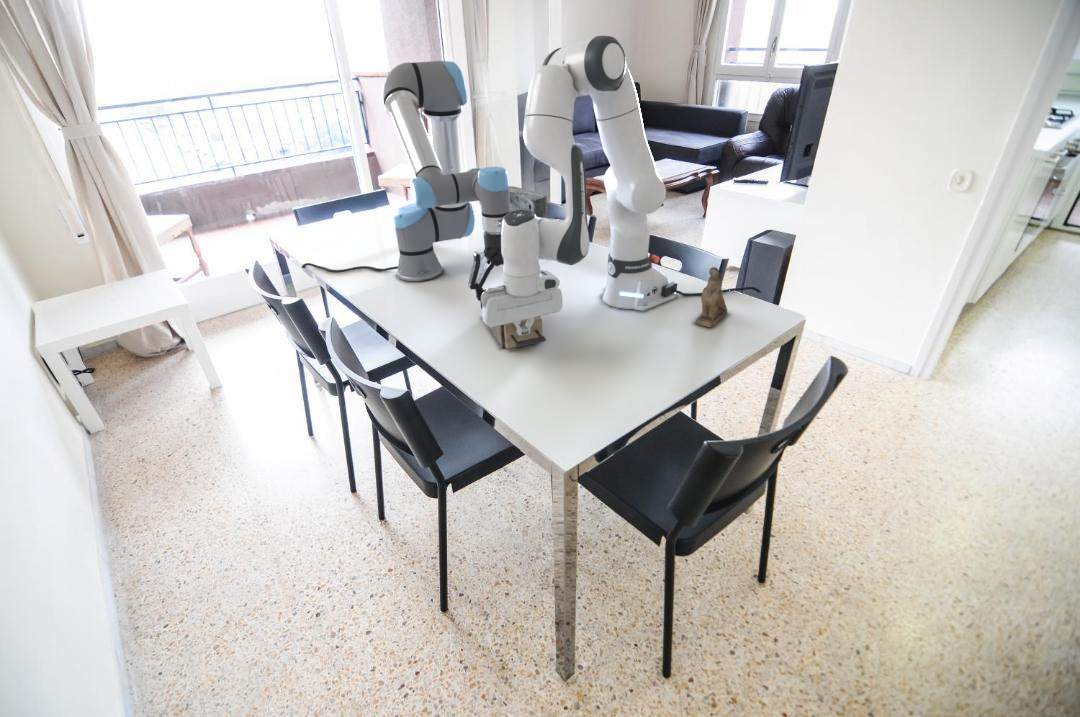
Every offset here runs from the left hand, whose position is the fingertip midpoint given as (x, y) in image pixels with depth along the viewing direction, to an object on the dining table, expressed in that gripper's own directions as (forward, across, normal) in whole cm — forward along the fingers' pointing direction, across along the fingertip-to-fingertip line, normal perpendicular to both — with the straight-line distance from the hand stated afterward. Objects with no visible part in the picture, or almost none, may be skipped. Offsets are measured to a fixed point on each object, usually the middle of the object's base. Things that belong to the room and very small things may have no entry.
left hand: (503, 306), depth 142 cm
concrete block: (+4, +27, +62) cm, 68 cm away
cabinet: (+4, 0, -6) cm, 8 cm away
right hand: (-1, -1, -20) cm, 21 cm away
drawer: (+3, 0, -12) cm, 12 cm away
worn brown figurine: (+4, +54, -24) cm, 59 cm away
